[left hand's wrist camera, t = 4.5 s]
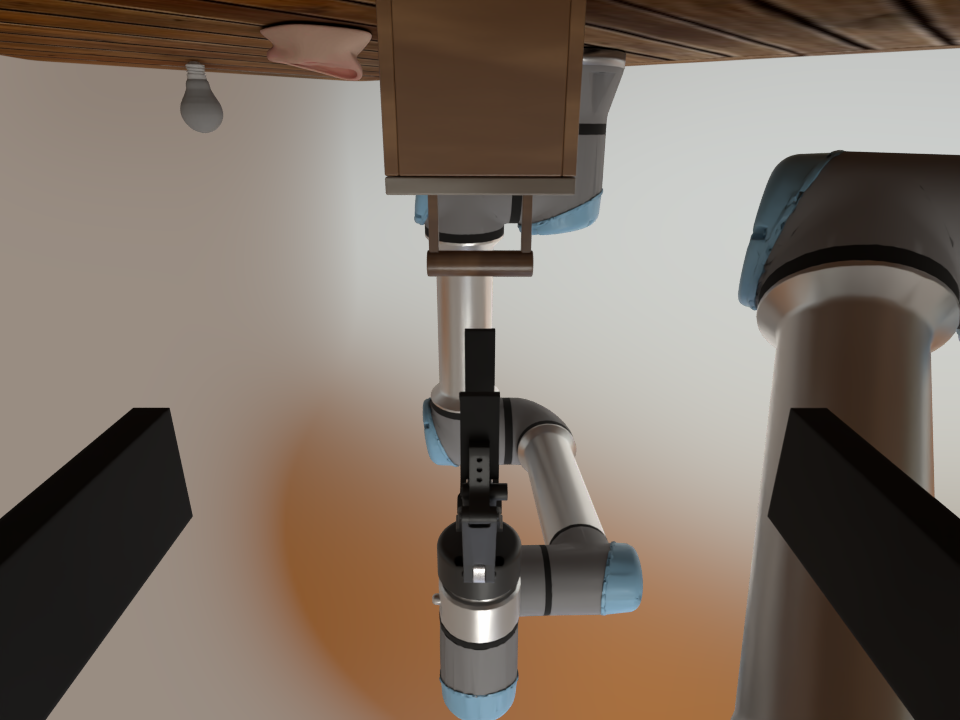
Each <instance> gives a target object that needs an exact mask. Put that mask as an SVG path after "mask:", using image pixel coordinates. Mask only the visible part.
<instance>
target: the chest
mask: <svg viewBox="0 0 960 720" xmlns="http://www.w3.org/2000/svg"><path fill="white" fill-rule="evenodd" d="M376 16H377V34H378V53H379V72H380V91H381V110H382V128H383V148H384V167H385V175H386V176H398V175H400V176H576V168H577V151H578V134H579V118H580V101H581V84H582V67H583V50H584V33H585V16H586V0H376Z"/></svg>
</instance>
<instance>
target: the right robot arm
mask: <svg viewBox="0 0 960 720" xmlns="http://www.w3.org/2000/svg"><path fill="white" fill-rule="evenodd" d="M625 58H626V53H624V52H621V51H616V50H607V49H589V48H584V50H583V67H582V84H581V101H580V118H579V134H578V151H577V168H576V176H573V177H574V178H575V179H576V184H575V194H574V195H533V206H532V235H537V234H539V235H550V234H559V233H566V232H571V231H576V230H579V229H583V228H585V227H588V226H589V225H591V224H592V223H594V222H595V220H596V219H597V217H598V214H599V208H600V200H601V194H602V193H603V189H602V180H603V165H604V151H605V136H606V122H607V115H608V112H609V109H610V107H611V104H612V101H613V98H614V96H615V93H616V90H617V88H618V85H619V82H620V80H621V77H622V74H623V71H624V69H625ZM438 211H439V250H493V247H494V245H495V244H496V243H498V242H499V241H500V240H501V239H502V238H503V236H504V224H506V223H518V228H519V230H520V232H521V226H522V195H438ZM414 220H415V222H416V223H419V224H420V225H424V224H425V236H426V238H427V239H428V240H429V225H428V195H416V200H415V217H414ZM492 293H493V277H477V276H437V304H438V342H439V379H440V383H439V384H437V385H436V386H435V387H434V388H433V390H432V392H431V398H429V399H426V400H425V401H424V403H423V422H424V428H425V429H424V432H425V439H426V445H427V449H428V453H429V456H430V458H431V460H432V461H433V462H434V463H436V464H438V465H452V466H455V467H457V466H459V465H460V466H461V486H460V494H459V495H458V501H457V513H458V515H457V516H456V522H454V523H452V524H451V525H449V526H448V527H447V528H445V529H444V531H443V532H442V533H441V535H440V537H439V539H438V543H437V558H438V576H439V594H434V595H433V597H432V600H433V604H435V605H440V662H441V669H440V678H439V679H440V682H441V684H442V694H443V699H444V702H445V704H446V705H447V707H448V708H449V710H450V711H451V712H452V713H453V714H454V715H456V716H457V717H458V718H460V719H462V720H496V719H497V718H499V717H501V716H502V715H503V714H505V713H506V712H507V710H508V709H509V708H510V706H511V705H512V703H513V701H514V697H515V691H516V684H517V681H518V670H517V650H518V619H519V616H544V615H600V614H601V615H606V614H614V613H622V612H631V611H634V610H635V609H637V607H638V606H639V604H640V602H641V598H642V591H643V579H642V570H641V565H640V561H639V557H638V555H637V552H636V551H635V549H634V548H633V547H632V546H630V545H628V544H625V543H616V542H614V541H613V542H611V543H608V541H607V539H606V536H605V534H604V531H603V529H602V526H601V523H600V521H599V518H598V516H597V513H596V511H595V508H594V506H593V503H592V501H591V498H590V496H589V493H588V491H587V488H586V486H585V483H584V480H583V478H582V475H581V473H580V470H579V468H578V465H577V463H576V460H575V455H576V444H575V441H574V438H573V436H572V434H571V432H570V430H569V429H568V427H567V426H566V424H565V423H564V422H563V421H562V420H561V419H560V418H559V417H558V416H556V415H555V414H554V413H553V412H551V411H550V410H548V409H547V408H545V407H543V406H541V405H539V404H537V403H535V402H532V401H529V400H526V399H521V398H500V392H499V390H498V388H497V387H496V386H495V329H494V328H492ZM503 464H516V465H517V464H518V465H522V467H523V468H524V469H525V470H526V471H527V472H528V474H529V478H530V482H531V486H532V491H533V495H534V499H535V504H536V508H537V512H538V516H539V520H540V525H541V529H542V533H543V537H544V542H545V545H521V541H520V538H519V536H518V534H517V532H516V531H515V530H514V529H513V528H512V527H511V526H509V525H508V524H506V523H505V522H503V521H502V515H501V513H502V500H507V494H508V491H507V483H499V465H503ZM466 479H467V483H466ZM492 479H493V482H492Z"/></svg>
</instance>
